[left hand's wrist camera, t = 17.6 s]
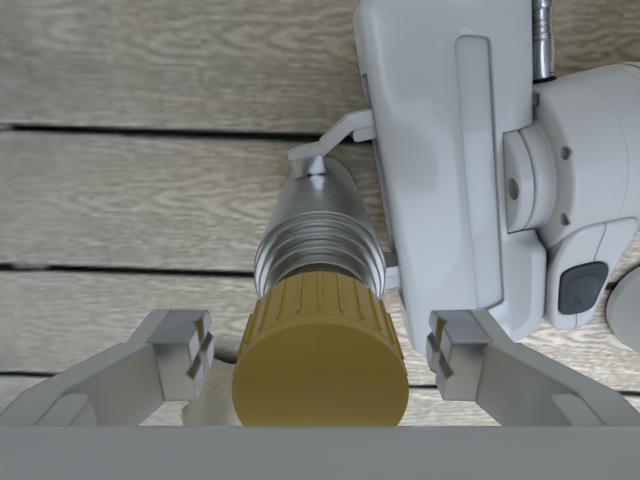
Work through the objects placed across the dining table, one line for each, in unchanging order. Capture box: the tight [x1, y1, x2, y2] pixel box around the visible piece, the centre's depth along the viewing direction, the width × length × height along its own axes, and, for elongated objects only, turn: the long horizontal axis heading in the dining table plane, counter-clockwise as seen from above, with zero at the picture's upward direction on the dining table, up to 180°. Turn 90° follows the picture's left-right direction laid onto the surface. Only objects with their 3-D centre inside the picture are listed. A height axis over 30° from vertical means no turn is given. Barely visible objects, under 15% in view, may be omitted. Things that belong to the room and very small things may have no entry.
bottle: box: [254, 156, 386, 299], centre depth 17 cm, size 5×5×19 cm
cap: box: [231, 271, 409, 426], centre depth 9 cm, size 4×4×2 cm
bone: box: [181, 358, 243, 426], centre depth 28 cm, size 9×8×10 cm
